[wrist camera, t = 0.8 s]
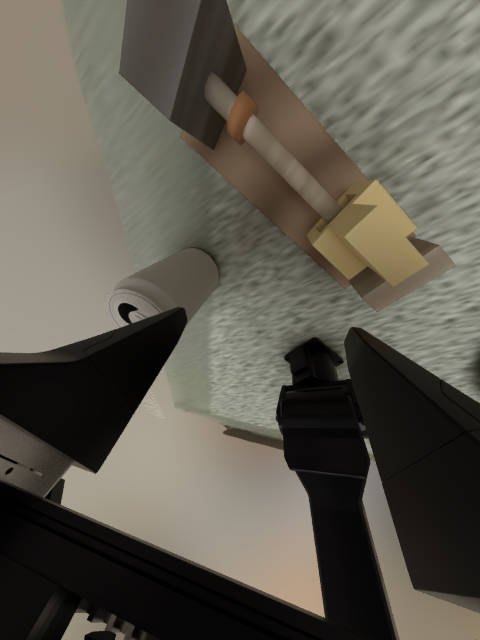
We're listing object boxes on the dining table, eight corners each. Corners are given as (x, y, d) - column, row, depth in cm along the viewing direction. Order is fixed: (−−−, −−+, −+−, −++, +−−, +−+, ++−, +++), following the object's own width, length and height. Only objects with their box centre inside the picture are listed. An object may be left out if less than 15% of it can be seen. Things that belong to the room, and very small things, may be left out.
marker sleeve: (384, 220, 14) (468, 239, 7) (335, 262, 16) (367, 303, 10) (351, 184, 13) (415, 170, 7) (306, 234, 16) (320, 259, 9)
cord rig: (411, 234, 16) (492, 257, 10) (343, 286, 20) (369, 326, 14) (223, 18, 12) (149, -200, 5) (184, 139, 16) (116, 99, 9)
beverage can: (185, 235, 21) (99, 266, 11) (229, 266, 22) (185, 318, 12) (171, 275, 24) (98, 324, 15) (209, 300, 25) (163, 360, 16)
